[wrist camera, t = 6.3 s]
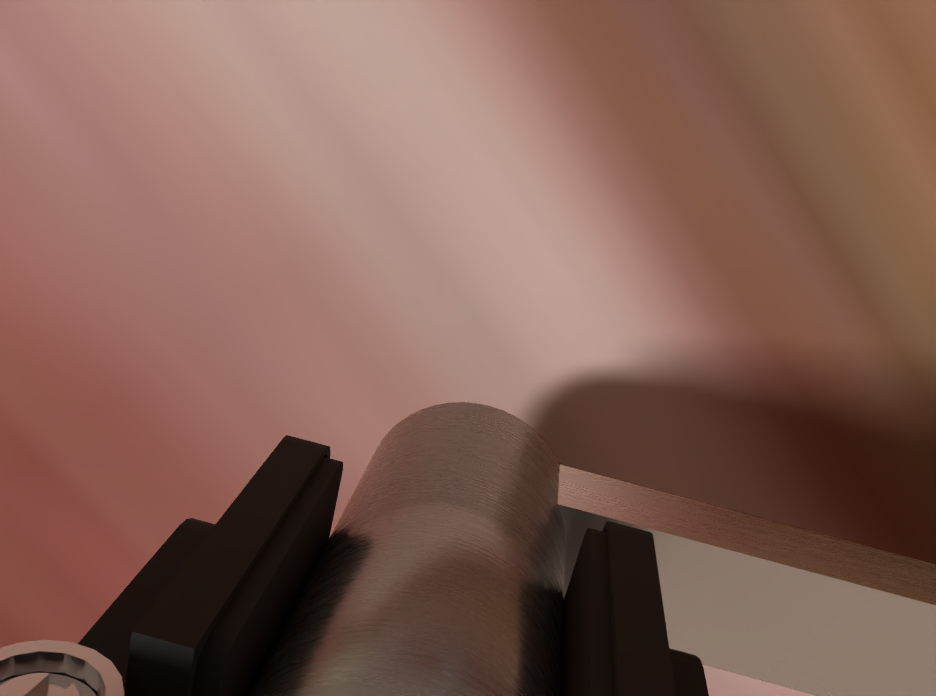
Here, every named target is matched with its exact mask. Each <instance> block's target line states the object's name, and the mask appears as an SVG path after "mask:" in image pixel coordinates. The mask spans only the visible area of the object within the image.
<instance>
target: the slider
mask: <svg viewBox="0 0 936 696" xmlns="http://www.w3.org/2000/svg"><path fill="white" fill-rule="evenodd" d="M607 521H611V522H614V523H618V524H622V525H626V526H629V527H633V528H637V529H641V530H644V531H648V532H651V533H652V534H653V538H654V545H655V552H656V559H657V566H658V573H659V580H660V587H661V594H662V601H663V608H664V615H665V622H666V629H667V636H668V643H669V648H671V649H674V650H678V651H682V652H685V653H689V654H693V655H696V656H697V657H698V658H700V660H701V663H702V664H703V665H707V666H711V667H714V668H718V669H722V670H725V671H729V672H733V673H736V674H740V675H743V676H747V677H751V678H754V679H758V680H762V681H765V682H769V683H773V684H776V685H780V686H784V687H787V688H791V689H795V690H798V691H802V692H805V693H809V694H813V695H816V696H936V564H933V563H929V562H925V561H921V560H918V559H914V558H910V557H906V556H902V555H899V554H895V553H891V552H887V551H884V550H880V549H876V548H872V547H869V546H865V545H861V544H857V543H854V542H850V541H846V540H842V539H839V538H835V537H831V536H827V535H824V534H820V533H816V532H812V531H809V530H805V529H801V528H797V527H794V526H790V525H786V524H782V523H778V522H775V521H771V520H767V519H763V518H760V517H756V516H752V515H748V514H745V513H741V512H737V511H733V510H730V509H726V508H722V507H718V506H715V505H711V504H707V503H703V502H700V501H696V500H692V499H688V498H685V497H681V496H677V495H673V494H669V493H666V492H662V491H658V490H654V489H651V488H647V487H643V486H639V485H636V484H632V483H628V482H624V481H621V480H617V479H613V478H609V477H606V476H602V475H598V474H594V473H591V472H587V471H583V470H579V469H576V468H572V467H568V466H564V465H561V464H560V463H559V462H558V460H557V458H556V456H555V454H554V452H553V451H552V449H551V448H550V447H549V445H548V444H547V443H546V441H545V440H544V439H543V438H542V437H541V436H540V435H539V434H538V433H537V432H536V431H535V430H534V429H532V428H531V427H530V426H529V425H528V424H526V423H525V422H523V421H522V420H520V419H518V418H517V417H515V416H513V415H511V414H509V413H507V412H505V411H503V410H500V409H497V408H494V407H491V406H487V405H482V404H477V403H465V402H458V403H446V404H440V405H435V406H432V407H428V408H425V409H422V410H420V411H418V412H416V413H414V414H411V415H410V416H408V417H407V418H405V419H404V420H402V421H401V422H399V423H398V424H397V425H396V426H395V427H393V428H392V429H391V430H390V431H389V433H388V434H387V435H386V436H385V437H384V438H383V440H382V441H381V443H380V444H379V446H378V447H377V449H376V451H375V453H374V455H373V457H372V459H371V461H370V462H369V464H368V466H367V468H366V470H365V472H364V474H363V476H362V478H361V480H360V481H359V483H358V485H357V487H356V489H355V491H354V493H353V495H352V497H351V499H350V500H349V502H348V504H347V506H346V508H345V510H344V512H343V514H342V516H341V518H340V519H339V521H338V523H337V525H336V527H335V529H334V531H333V533H332V535H331V537H330V538H329V540H328V542H327V544H326V546H325V548H324V550H323V552H322V554H321V556H320V557H319V559H318V561H317V563H316V565H315V567H314V569H313V571H312V573H311V575H310V576H309V578H308V580H307V582H306V584H305V586H304V588H303V590H302V592H301V594H300V595H299V597H298V599H297V601H296V603H295V605H294V607H293V609H292V611H291V613H290V614H289V616H288V618H287V620H286V622H285V624H284V626H283V628H282V630H281V632H280V633H279V635H278V637H277V639H276V641H275V643H274V645H273V647H272V649H271V651H270V652H269V654H268V656H267V658H266V660H265V662H264V664H263V666H262V668H261V670H260V671H259V673H258V675H257V677H256V679H255V681H254V683H253V685H252V687H251V689H250V690H249V692H248V694H247V696H560V689H561V661H562V634H563V606H564V598H565V595H566V591H567V588H568V585H569V582H570V579H571V576H572V572H573V569H574V566H575V563H576V560H577V557H578V553H579V550H580V547H581V544H582V541H583V538H584V535H585V532H586V530H587V529H588V528H592V529H595V530H599V531H602V529H603V527H604V525H605V523H606V522H607Z"/></svg>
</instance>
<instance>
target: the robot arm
mask: <svg viewBox="0 0 936 696" xmlns="http://www.w3.org/2000/svg"><path fill="white" fill-rule="evenodd" d="M342 471H343V462H341V461H337V460H333V459H330V447H329V446H325V445H322V444H318V443H314V442H310V441H307V440H303V439H299V438H295V437H292V436H288V435H286V436H285V437H284V438H283V439H282V440H281V442H280V443H279V444H278V446H277V447H276V448H275V449H274V451H273V452H272V453H271V454H270V456H269V457H268V458H267V460H266V461H265V462H264V463H263V465H262V466H261V467H260V469H259V470H258V471H257V472H256V474H255V475H254V476H253V477H252V479H251V480H250V481H249V483H248V484H247V485H246V486H245V488H244V489H243V490H242V492H241V493H240V494H239V495H238V497H237V498H236V499H235V500H234V502H233V503H232V504H231V506H230V507H229V508H228V509H227V511H226V512H225V513H224V514H223V516H222V517H221V518H220V520H219V521H218V522H217V523H216V525H215V524H211V523H208V522H204V521H200V520H197V519H193V518H191V519H186V520H185V521H184V522H183V523H182V524H181V525H179V527H178V528H177V529H176V530H175V531H174V532H173V534H172V535H171V536H170V537H169V538H168V539H167V541H166V542H165V543H164V544H163V545H162V546H161V548H160V549H159V550H158V551H157V552H156V553H155V555H154V556H153V557H152V558H151V559H150V560H149V562H148V563H147V564H146V565H145V566H144V567H143V569H142V570H141V571H140V572H139V573H138V574H137V575H136V577H135V578H134V579H133V580H132V581H131V582H130V584H129V585H128V586H127V587H126V588H125V589H124V591H123V592H122V593H121V594H120V595H119V596H118V598H117V599H116V600H115V601H114V602H113V603H112V605H111V606H110V607H109V608H108V609H107V610H106V612H105V613H104V614H103V615H102V616H101V617H100V619H99V620H98V621H97V622H96V623H95V624H94V626H93V627H92V628H91V629H90V630H89V631H88V633H87V634H86V635H85V636H84V637H83V638H82V640H81V641H80V642H79V643H78V644H76V643H73V642H65V641H53V640H40V641H30V642H21V643H16V644H13V645H9V646H6V647H3V648H0V696H247V694H248V692H249V690H250V689H251V687H252V685H253V683H254V681H255V679H256V677H257V675H258V673H259V671H260V670H261V668H262V666H263V664H264V662H265V660H266V658H267V656H268V654H269V652H270V651H271V649H272V647H273V645H274V643H275V641H276V639H277V637H278V635H279V633H280V632H281V630H282V628H283V626H284V624H285V622H286V620H287V618H288V616H289V614H290V613H291V611H292V609H293V607H294V605H295V603H296V601H297V599H298V597H299V595H300V594H301V592H302V590H303V588H304V586H305V584H306V582H307V580H308V578H309V576H310V575H311V573H312V571H313V569H314V567H315V565H316V563H317V561H318V559H319V557H320V556H321V554H322V552H323V550H324V548H325V546H326V544H327V542H328V540H329V536H330V531H331V526H332V521H333V516H334V511H335V506H336V501H337V496H338V491H339V486H340V481H341V476H342ZM560 696H709V695H708V689H707V684H706V679H705V674H704V669H703V666H702V663H701V660H700V658H698V657H697V656H696V655H693V654H689V653H685V652H682V651H678V650H674V649H671V648H669V643H668V636H667V629H666V622H665V615H664V608H663V601H662V594H661V587H660V580H659V573H658V566H657V559H656V552H655V545H654V538H653V534H652V533H651V532H648V531H644V530H641V529H637V528H633V527H629V526H626V525H622V524H618V523H614V522H611V521H607V522H606V523H605V525H604V527H603V529H602V531H599V530H595V529H592V528H588V529H587V530H586V532H585V535H584V538H583V541H582V544H581V547H580V550H579V553H578V557H577V560H576V563H575V566H574V569H573V572H572V576H571V579H570V582H569V585H568V588H567V591H566V595H565V598H564V606H563V634H562V661H561V689H560Z"/></svg>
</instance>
